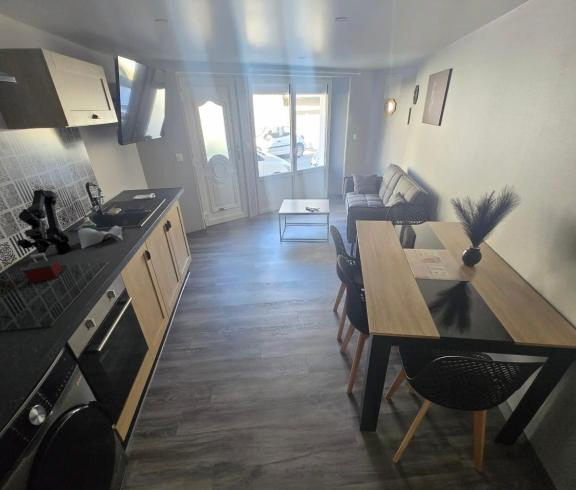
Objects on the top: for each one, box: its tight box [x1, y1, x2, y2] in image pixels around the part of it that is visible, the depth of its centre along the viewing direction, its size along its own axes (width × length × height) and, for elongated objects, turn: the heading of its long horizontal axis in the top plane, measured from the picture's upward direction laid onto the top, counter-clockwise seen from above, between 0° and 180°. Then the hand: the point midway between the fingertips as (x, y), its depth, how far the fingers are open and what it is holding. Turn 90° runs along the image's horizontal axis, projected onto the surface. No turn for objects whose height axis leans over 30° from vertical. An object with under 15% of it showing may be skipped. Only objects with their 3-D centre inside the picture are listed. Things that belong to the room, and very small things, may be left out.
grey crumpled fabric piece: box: [77, 225, 126, 250], centre depth 197 cm, size 25×19×10 cm
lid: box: [22, 253, 58, 273], centre depth 156 cm, size 11×12×5 cm
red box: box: [23, 258, 63, 284], centre depth 159 cm, size 10×12×6 cm
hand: (42, 255), depth 161 cm, fingers closed
